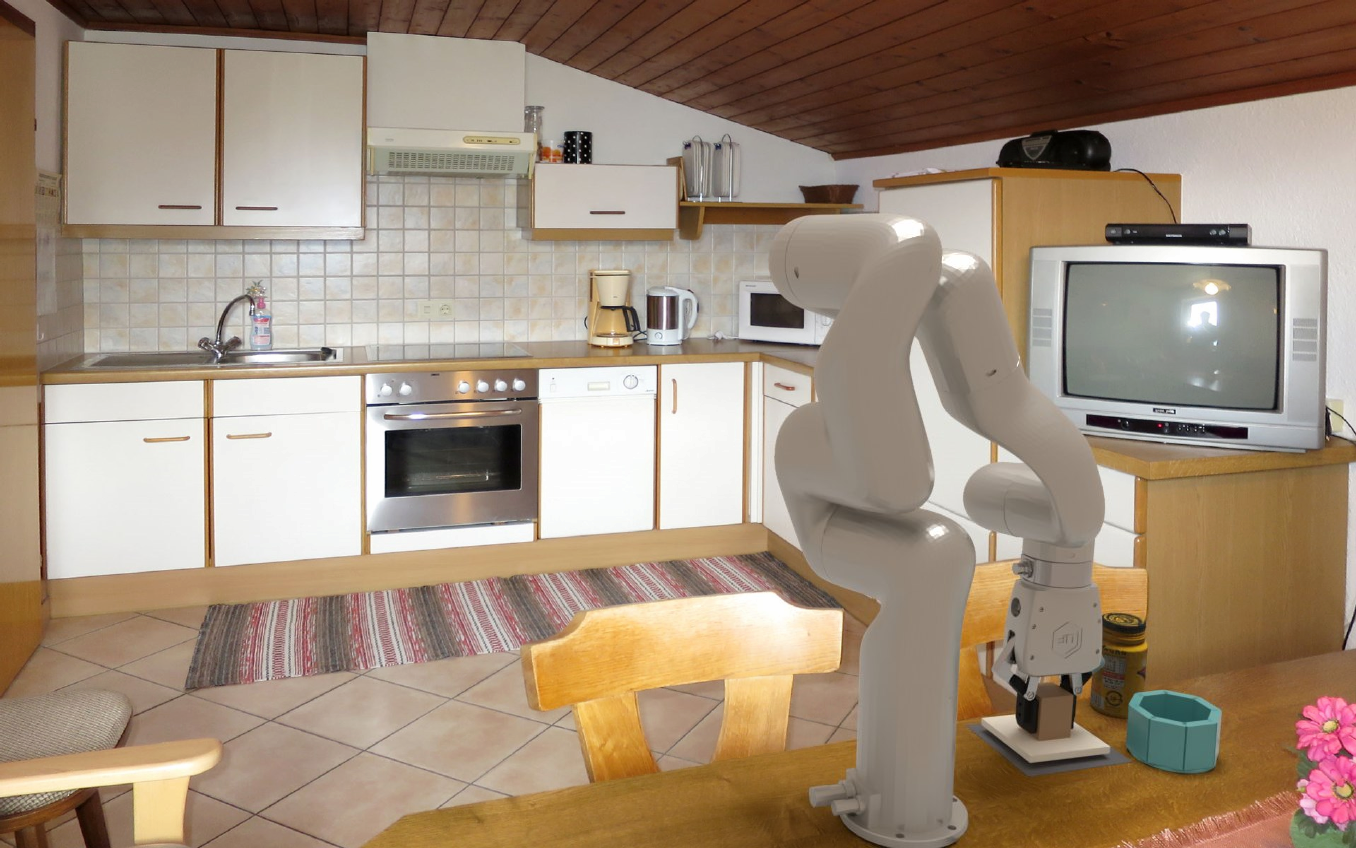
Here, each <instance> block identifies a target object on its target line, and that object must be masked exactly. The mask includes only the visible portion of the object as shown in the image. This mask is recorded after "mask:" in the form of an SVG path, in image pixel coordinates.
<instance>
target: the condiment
mask: <svg viewBox="0 0 1356 848" xmlns="http://www.w3.org/2000/svg"><path fill="white" fill-rule="evenodd" d="M1146 629H1147V623H1146V621H1145V620H1144V619H1143V618H1141V617H1139V616H1137V615H1134V614H1130V613H1125V612H1107V613H1102V656H1103V658H1104V659H1105V662H1106V663H1105V665H1104V667H1102V668H1101V669H1100V670H1098V671H1097V672H1096V673H1095V674H1092V677H1091V686H1090V698H1089V701H1090V705H1091V708H1092V709H1093V710H1095V711H1096V712H1098V713H1100V714H1102V715H1104V716H1109V717H1112V718H1117V719H1118V718H1120V719H1128V707H1129V703H1130V701H1131V699H1132V698H1133V696H1134V694H1135V693H1139V692H1145V689H1146V677H1147V663H1148V652H1149V646H1148V643H1147V641H1146V637H1147V635H1146V634H1147V633H1146V631H1147V630H1146Z"/></svg>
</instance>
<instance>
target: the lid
mask: <svg viewBox="0 0 1356 848" xmlns="http://www.w3.org/2000/svg"><path fill="white" fill-rule="evenodd" d="M1073 696H1074V695H1072V694H1071V693H1069V692H1068V691H1066V690H1064V689H1063V688H1061V687H1060V685H1058V684H1057V683H1055V682H1054V681H1047V682H1039V683H1038V687H1037V691H1036V695H1035V698H1036V699H1037V700H1039V708H1038V722H1037V732H1036V733H1034V734H1030V733H1029V732H1027V731H1026V730H1025V729H1023V728H1022V727H1021V726H1019V725H1018V724H1017V722H1016V716H1015V715H1016V713H1015V714H1008V715H999V716H998V715H997V716H989V717H981V722H980V723H981V725H982V726H984V727H985V728H986V729H987V730H989V731H990V732H991V733H993V734H994V735H995V736H996V737H998V738H999V739H1000V740H1002V741H1003V742H1004V743H1005V744H1007V745H1008V746H1009V747H1010V748H1012V749H1013V750H1014V751H1016V752H1017V753H1018V754H1019V755H1021V756H1022V757H1023V758H1025V759H1026V760H1027V761H1028V762H1030V763H1033V762H1042V761H1050V760H1058V759H1067V758H1075V757H1083V756H1092V755H1100V754H1108V753H1110V747H1111V746H1110V745H1109V744H1108V745H1107V743H1106V742H1105V743H1104V741H1103V740H1102V739H1100V738H1099V737H1097V736H1096V735H1095V734H1093V733H1092V732H1090V731H1089V732H1088V730H1087V729H1086V728H1084V727H1083V726H1082V725H1080V724H1079V723H1077V722H1076V721H1074V728H1073V729H1071V721H1072V708H1073ZM1075 722H1076V723H1077V724H1076V723H1075ZM1079 725H1080V726H1079ZM1082 727H1083V728H1082ZM1085 729H1086V730H1085ZM1091 733H1092V734H1093V735H1092V734H1091ZM1095 736H1096V737H1095ZM1098 738H1099V739H1098ZM1101 740H1102V741H1101Z"/></svg>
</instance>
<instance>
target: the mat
mask: <svg viewBox="0 0 1356 848" xmlns="http://www.w3.org/2000/svg"><path fill="white" fill-rule="evenodd" d="M1074 722H1075V723H1076V724H1078V723H1077V722H1076V721H1074ZM1078 725H1079V726H1081V725H1080V724H1078ZM965 726H966V728H968V729H969V730H971V731H972V733H974V734H975V735H976V736H977V737H979V738H980V739H981V740H982V741H984V742H985V743H987V745H988V746H990V747H991V748H992V749H994V750H995V751H996V752H997V753H998V754H1000V755H1001V756H1002V757H1004V758H1005V760H1007V761H1008V762H1010V763H1011V764H1012V765H1013V766H1014V767H1016V768H1017V769H1018V770H1019V771H1021V773H1023V774H1024V775H1025V776H1027V777H1028V778H1031V777H1038V776H1039V777H1040V776H1045V775H1051V774H1058V773H1065V772H1072V771H1080V770H1086V769H1087V770H1088V769H1094V768H1101V767H1107V766H1114V765H1124V764H1129V763H1133V761H1132V760H1131V759H1130V758H1128V757H1126V756H1125V755H1124V754H1122V753H1121V752H1119V751H1118V750H1117V749H1115V748H1113V747H1112V746H1110V753H1108V754H1100V755H1092V756H1083V757H1075V758H1067V759H1058V760H1050V761H1042V762H1033V763H1030V762H1028V761H1027V760H1026V759H1025V758H1023V757H1022V756H1021V755H1019V754H1018V753H1017V752H1016V751H1014V750H1013V749H1012V748H1010V747H1009V746H1008V745H1007V744H1005V743H1004V742H1003V741H1002V740H1000V739H999V738H998V737H996V736H995V735H994V734H993V733H991V732H990V731H989V730H987V729H986V728H985V727H984V726H982V725H981V722H979V723H973V724H965ZM1081 727H1082V728H1084V727H1083V726H1081ZM1084 729H1085V730H1087V729H1086V728H1084ZM1087 731H1088V730H1087ZM1088 732H1090V731H1088ZM1090 733H1091V734H1092V735H1094V733H1092V732H1090ZM1094 736H1095V737H1097V736H1096V735H1094ZM1097 738H1098V739H1100V738H1099V737H1097ZM1100 740H1101V741H1103V740H1102V739H1100ZM1103 742H1104V741H1103ZM1104 743H1106V742H1104ZM1106 744H1107V743H1106ZM1107 745H1109V744H1107Z"/></svg>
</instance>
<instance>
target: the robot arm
mask: <svg viewBox="0 0 1356 848" xmlns="http://www.w3.org/2000/svg"><path fill="white" fill-rule="evenodd" d="M768 252H769V253H768V259H767V261H768V262H767V263H768V271H769V275H770V278H771V281H772V282H773V283H772V284H773V286H774V287H775V288H776V290H777V291H778V293H779V294H780V295H781V297H783V298H784V299H785V300H786V301H787V302H789V303H790V304H792V305H794V306H796V307H798V308H801V309H803V310H805V311H809V312H812V313H813V314H818V315H821V316H823V317H826V318H829V319H831V320H833V321H832V323H831V326H830V328H829V329H828V331H827V333H826V335H825V336H824V339H823V341H822V343H821V345H820V346H819V348H818V352H817V353H816V357H815V361H814V365H813V383H814V390H815V394H816V397H817V401H811V402H808V403H804V404H802V405H800V406H797V407H796V408H795V409H793V410H792V411H791V412H790V413H789V414H787V416H786V417H785V419H784V421H783V422H782V424H781V425H780V428H779V430H778V433H777V436H776V439H775V440H776V441H775V444H774V456H773V460H774V471H775V476H776V480H777V483H778V486H779V489H780V492H781V495H782V498H783V501H784V504H785V506H786V509H787V513H788V515H789V518H790V521H791V523H792V527H793V530H794V533H795V535H796V539H797V540H798V544H799V546H800V549H801V551H802V554H803V556H804V559H805V560H806V562H807V564H808V566H809V567H810V568H811V570H812V571H813V572H814V573H815V574H816V575H817V576H818V577H819V578H821V579H822V580H823V581H826V582H828V583H830V584H833V585H835V586H838V587H841V588H844V589H846V590H850V591H853V592H856V593H859V594H862V595H865V596H867V597H869V598H871V599H874V600H878V601H879V602H880V610H879V612H878V614H877V615H876V617H875V618H874V619H873V621H872V622H871V623H870V624H869V626H868V627H867V629H866V630H865V631H864V632H865V633H864V634H863V637H862V639H861V642H860V648H859V663H858V666H859V671H858V699H857V700H858V701H857V703H858V704H857V728H856V729H857V731H856V762H855V764H856V765H855V767H850V768H847V769H846V771H845V777H846V778H845V779H841V780H838V782H837V783H836V784H830V785H828V784H824V785H817V786H816V785H815V786H810V787H809V789H808V800H809V802H810V804H811V806H812V808H820V807H825V806H826V807H827V806H830V808H831V813H832V814H833V816H835V817H837V816H840V819H841V821H842V823H843V824H844V825H845V826H846V827H847V829H848V830H849V831H851V832H853V834H855V835H857V836H858V837H860V838H862V839H863V840H866V841H867V842H871V843H873V844H875V845H879V846H881V847H882V846H883V847H886V848H944V847H946V846H949V845H951V844H954V843H956V842H957V841H958V840H960V839H959V838H961V837H962V836H963V835H964V834H965V833H966V831H967V829H968V826H969V813H968V809H967V807H966V805H965V804H964V803H963V802H962V800H961V799H959V797H957V796H956V795H955V794H954V781H955V780H954V779H955V762H956V760H955V758H956V742H957V741H956V740H957V739H956V738H957V721H958V720H957V718H958V699H959V697H958V696H959V679H960V677H959V676H960V660H961V659H960V658H961V657H960V655H961V645H962V634H963V633H962V632H963V625H964V619H965V614H966V609H967V604H968V601H969V596H970V592H971V588H972V585H973V580H974V577H975V571H976V565H977V553H976V548H975V544H974V542H973V539H972V537H971V536H970V534H969V533H968V531H967V530H966V529H965V528H964V527H963V526H962V525H960V523H958V522H957V521H955V520H953V519H952V518H950V517H948V516H945V515H943V514H941V513H938V512H936V511H932V510H928V509H926V508H925V509H924V508H921V507H923V505H925V503H927V501H928V500H929V498H930V497H931V495H932V493H933V490H934V486H935V478H936V473H935V472H936V471H935V465H934V459H933V454H932V449H931V446H930V442H929V438H928V434H927V431H926V427H925V423H924V419H923V416H922V413H921V409H920V405H919V401H918V397H917V394H916V390H915V386H914V382H913V378H912V377H913V376H912V372H911V362H910V357H911V356H910V355H911V352H912V351H911V350H912V345H913V342H914V339H915V338H916V340H918V343H919V345H920V348H921V351H922V353H923V356H924V358H925V362H926V364H927V367H928V370H929V372H930V375H931V378H932V381H933V383H934V387H935V390H936V392H937V394H938V395H937V396H938V398H939V400H940V403H941V406H942V408H943V409H944V411H945V412H946V413H947V414H948V415H949V416H950V417H951V418H952V419H954V420H955V421H957V422H958V423H959V424H961V425H963V426H964V427H965V428H967V429H969V430H970V431H972V432H974V433H975V434H976V435H978V436H980V437H982V438H984V439H986V440H988V441H990V442H991V443H993V444H995V445H997V446H999V447H1001V448H1003V450H1005V451H1007V452H1008V453H1010V454H1012V455H1014V456H1015V457H1016V458H1017V459H1019V460H1020V461H1021V462H1009V461H995V462H991V463H988V464H985V465H983V466H981V467H979V468H977V470H976V471H974V472H973V473H972V474H971V475H970V477H969V478H968V479H967V482H966V484H965V486H964V489H963V494H962V502H963V508H964V511H965V512H966V514H967V516H968V517H969V518H970V519H971V521H972V522H973V523H974V524H976V525H978V526H979V527H981V528H984V529H986V530H988V531H991V532H995V533H998V534H1002V535H1008V536H1011V537H1015V538H1022V545H1021V547H1022V548H1021V549H1022V550H1021V554H1020V561H1019V562H1014V563H1012V567H1011V570H1012V573H1013V574H1014V575H1015V576H1017V575H1019V578H1017V579H1015V581H1014V584H1013V587H1012V590H1011V591H1012V592H1011V595H1010V598H1009V603H1008V608H1007V611H1006V619H1005V624H1004V634H1003V645H1002V648H1003V649H1002V651H1001V652H1000V653H999V655H998V657H997V659H996V660H995V662H994V663H993V665H992V667H991V672H992V673H993V674H995V675H996V676H997V677H999V678H1000V679H1002V680H1003V681H1005V682H1006V683H1007V684H1008V685H1009V686H1010V687H1011V688H1012V690H1013V691H1014V692H1016V703H1015V714H1016V715H1015V714H1014V715H1015V716H1016V722H1017V724H1018V725H1019V726H1021V727H1022V728H1023V729H1025V730H1026V731H1027V732H1029V733H1030V734H1034V733H1036V732H1037V722H1038V708H1039V700H1037V699H1036V698H1035V695H1036V691H1037V687H1038V683H1040V682H1039V681H1040V678H1044V677H1054V676H1055V677H1056V676H1058V683H1059V686H1060V687H1061V688H1063V689H1064V690H1066V691H1068V692H1069V693H1071V694H1072V695H1074V696H1073V708H1072V721H1071V729H1073V728H1074V722H1075V717H1076V713H1077V712H1076V711H1077V698H1078V696H1081V695H1082V694H1083V691H1084V686H1085V685H1086V683H1088V681H1089V680H1090V679H1092V674H1095V673H1096V672H1097V671H1098V670H1100V669H1101V668H1102V667H1104V665H1105V663H1106V662H1105V659H1104V658H1103V656H1102V615H1103V612H1102V602H1101V601H1102V600H1101V595H1100V594H1101V593H1100V590H1099V585H1098V583H1096V582H1094V581H1093V569H1094V559H1095V558H1094V556H1095V546H1096V545H1095V544H1096V538H1097V537H1098V535H1099V534H1100V532H1101V530H1102V527H1103V525H1104V522H1105V516H1106V498H1105V492H1104V487H1103V483H1102V479H1101V476H1100V471H1099V467H1098V465H1097V461H1096V458H1095V455H1094V451H1093V449H1092V447H1091V445H1090V443H1089V441H1088V440H1087V438H1086V437H1085V435H1084V434H1083V432H1082V431H1081V430H1080V429H1079V427H1078V426H1077V425H1076V424H1075V423H1074V422H1073V421H1072V420H1071V419H1070V418H1069V417H1068V416H1067V415H1066V414H1065V413H1064V412H1063V410H1061V408H1060V407H1058V406H1057V404H1056V403H1054V401H1052V400H1051V398H1049V397H1048V396H1047V395H1046V394H1045V393H1044V392H1043V391H1042V390H1040V389H1039V388H1038V387H1037V386H1036V385H1035V384H1033V383H1032V382H1031V381H1030V380H1029V379H1028V377H1027V374H1026V373H1025V370H1024V366H1023V363H1022V359H1021V357H1020V353H1019V350H1018V346H1017V345H1016V344H1017V343H1016V341H1015V338H1014V337H1015V336H1014V335H1013V331H1012V328H1011V326H1010V325H1011V324H1010V321H1009V320H1008V319H1009V318H1008V316H1007V313H1006V309H1005V306H1004V303H1003V300H1002V297H1001V293H1000V290H999V287H998V284H997V280H996V279H995V276H994V273H993V270H992V268H991V267H990V266H989V264H988V263H987V261H985V259H984V258H983V257H981V256H979V255H977V254H976V253H973V252H971V251H968V250H963V249H958V248H957V249H955V248H943V245H942V242H941V238H940V236H939V235H938V232H937V231H936V229H935V228H934V227H933V226H932V225H931V224H929V223H928V222H926V221H925V220H923V219H920V218H918V217H915V216H911V215H910V216H909V215H905V214H898V213H882V212H881V213H880V212H879V213H852V214H851V213H849V214H848V213H847V214H843V213H842V214H815V215H814V214H810V215H803V216H799V217H797V218H794V219H792V220H791V221H789V222H787V223H786V224H784V226H782V227H781V228H780V229H779V231H778V232H777V233H776V234H775V236H774V239H773V240H772V242H771V245H770V248H769V251H768ZM1013 665H1016V669H1015V673H1014V671H1012V670H1011V669H1012V666H1013Z"/></svg>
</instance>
